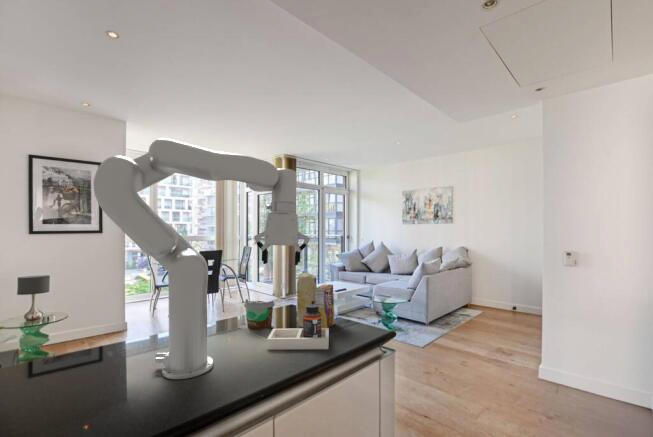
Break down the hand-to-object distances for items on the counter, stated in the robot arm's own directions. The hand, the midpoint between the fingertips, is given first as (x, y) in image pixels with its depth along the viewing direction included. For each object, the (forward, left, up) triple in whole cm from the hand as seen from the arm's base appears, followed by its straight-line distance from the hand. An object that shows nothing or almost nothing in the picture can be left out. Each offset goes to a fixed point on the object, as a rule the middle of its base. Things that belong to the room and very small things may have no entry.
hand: (280, 264), depth 96 cm
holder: (+5, +6, -26) cm, 27 cm away
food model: (+6, +24, -27) cm, 36 cm away
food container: (-13, +22, -27) cm, 37 cm away
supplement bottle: (+9, +6, -26) cm, 28 cm away
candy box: (+13, +23, -27) cm, 37 cm away
